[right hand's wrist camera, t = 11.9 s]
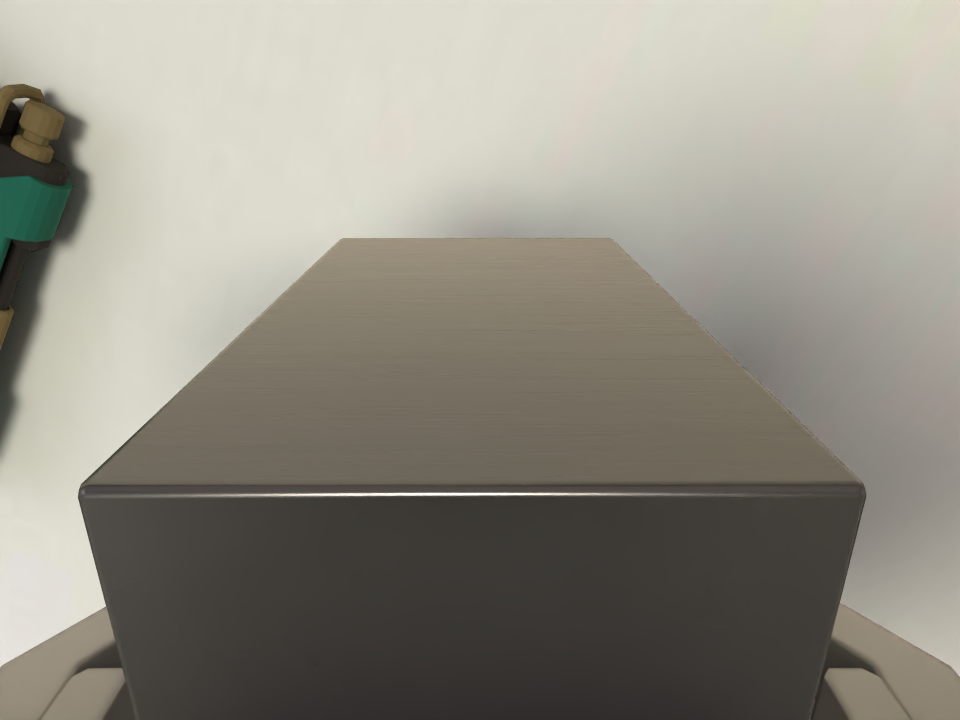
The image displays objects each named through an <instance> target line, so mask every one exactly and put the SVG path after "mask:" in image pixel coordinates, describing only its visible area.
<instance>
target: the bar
mask: <svg viewBox="0 0 960 720" xmlns="http://www.w3.org/2000/svg"><path fill="white" fill-rule="evenodd" d="M78 499H79V503H80V507H81V511H82V515H83V518H84V522H85V526H86V530H87V534H88V538H89V542H90V545H91V549H92V553H93V557H94V561H95V565H96V569H97V572H98V576H99V580H100V584H101V588H102V592H103V596H104V599H105V603H106V607H107V611H108V615H109V619H110V623H111V626H112V630H113V634H114V638H115V642H116V646H117V650H118V653H119V657H120V661H121V665H122V669H123V673H124V677H125V680H126V684H127V688H128V692H129V696H130V700H131V704H132V707H133V711H134V715H135V719H136V720H811V716H812V712H813V708H814V704H815V700H816V696H817V692H818V688H819V684H820V680H821V676H822V672H823V668H824V664H825V660H826V656H827V652H828V648H829V644H830V640H831V635H832V631H833V627H834V623H835V619H836V615H837V611H838V607H839V603H840V599H841V595H842V591H843V587H844V583H845V579H846V575H847V571H848V567H849V563H850V559H851V555H852V551H853V547H854V543H855V539H856V535H857V531H858V527H859V523H860V519H861V515H862V511H863V507H864V503H865V499H866V491H865V487H864V484H863V483H862V482H861V481H860V480H859V479H858V478H857V477H856V476H855V475H854V474H853V473H852V472H851V471H850V470H849V469H848V468H847V467H846V466H845V465H844V464H843V463H842V462H841V461H840V460H839V459H838V458H837V457H836V456H835V455H834V454H833V453H831V452H830V451H829V450H828V449H827V448H826V447H825V446H824V445H823V444H822V443H821V442H820V441H819V440H818V439H817V438H816V437H815V436H814V435H813V434H812V433H811V432H810V431H809V430H808V429H807V428H806V427H805V426H804V425H803V424H802V423H801V422H800V421H799V420H798V419H796V418H795V417H794V416H793V415H792V414H791V413H790V412H789V411H788V410H787V409H786V408H785V407H784V406H783V405H782V404H781V403H780V402H779V401H778V400H777V399H776V398H775V397H774V396H773V395H772V394H771V393H770V392H769V391H768V390H767V389H766V388H765V387H764V386H763V385H761V384H760V383H759V382H758V381H757V380H756V379H755V378H754V377H753V376H752V375H751V374H750V373H749V372H748V371H747V370H746V369H745V368H744V367H743V366H742V365H741V364H740V363H739V362H738V361H737V360H736V359H735V358H734V357H733V356H732V355H731V354H730V353H729V352H728V351H726V350H725V349H724V348H723V347H722V346H721V345H720V344H719V343H718V342H717V341H716V340H715V339H714V338H713V337H712V336H711V335H710V334H709V333H708V332H707V331H706V330H705V329H704V328H703V327H702V326H701V325H700V324H699V323H698V322H697V321H696V320H695V319H694V318H693V317H691V316H690V315H689V314H688V313H687V312H686V311H685V310H684V309H683V308H682V307H681V306H680V305H679V304H678V303H677V302H676V301H675V300H674V299H673V298H672V297H671V296H670V295H669V294H668V293H667V292H666V291H665V290H664V289H663V288H662V287H661V286H660V285H659V284H658V283H656V282H655V281H654V280H653V279H652V278H651V277H650V276H649V275H648V274H647V273H646V272H645V271H644V270H643V269H642V268H641V267H640V266H639V265H638V264H637V263H636V262H635V261H634V260H633V259H632V258H631V257H630V256H629V255H628V254H627V253H626V252H625V251H624V250H622V249H621V248H620V247H619V246H618V245H617V244H616V243H615V242H614V241H613V240H612V239H610V238H343V239H341V240H339V241H338V242H337V243H336V244H335V245H334V246H333V247H332V248H331V249H330V250H329V251H328V252H327V253H325V254H324V255H323V256H322V257H321V258H320V259H319V260H318V261H317V262H316V263H315V264H314V265H313V266H312V267H311V268H310V269H309V270H307V271H306V272H305V273H304V274H303V275H302V276H301V277H300V278H299V279H298V280H297V281H296V282H295V283H294V284H293V285H292V286H291V287H289V288H288V289H287V290H286V291H285V292H284V293H283V294H282V295H281V296H280V297H279V298H278V299H277V300H276V301H275V302H274V303H273V304H271V305H270V306H269V307H268V308H267V309H266V310H265V311H264V312H263V313H262V314H261V315H260V316H259V317H258V318H257V319H256V320H255V321H253V322H252V323H251V324H250V325H249V326H248V327H247V328H246V329H245V330H244V331H243V332H242V333H241V334H240V335H239V336H238V337H237V338H236V339H234V340H233V341H232V342H231V343H230V344H229V345H228V346H227V347H226V348H225V349H224V350H223V351H222V352H221V353H220V354H219V355H218V356H216V357H215V358H214V359H213V360H212V361H211V362H210V363H209V364H208V365H207V366H206V367H205V368H204V369H203V370H202V371H201V372H200V373H198V374H197V375H196V376H195V377H194V378H193V379H192V380H191V381H190V382H189V383H188V384H187V385H186V386H185V387H184V388H183V389H182V390H180V391H179V392H178V393H177V394H176V395H175V396H174V397H173V398H172V399H171V400H170V401H169V402H168V403H167V404H166V405H165V406H164V407H162V408H161V409H160V410H159V411H158V412H157V413H156V414H155V415H154V416H153V417H152V418H151V419H150V420H149V421H148V422H147V423H146V424H144V425H143V426H142V427H141V428H140V429H139V430H138V431H137V432H136V433H135V434H134V435H133V436H132V437H131V438H130V439H129V440H128V441H126V442H125V443H124V444H123V445H122V446H121V447H120V448H119V449H118V450H117V451H116V452H115V453H114V454H113V455H112V456H111V457H110V458H108V459H107V460H106V461H105V462H104V463H103V464H102V465H101V466H100V467H99V468H98V469H97V470H96V471H95V472H94V473H93V474H92V475H90V476H89V477H88V478H87V479H86V480H85V481H84V482H83V483H82V484H81V486H80V489H79V494H78Z"/></svg>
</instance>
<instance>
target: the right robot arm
mask: <svg viewBox="0 0 960 720" xmlns="http://www.w3.org/2000/svg"><path fill="white" fill-rule="evenodd" d="M0 720H136V719H135V715H134V711H133V707H132V704H131V700H130V696H129V692H128V688H127V684H126V680H125V677H124V673H123V669H122V665H121V661H120V657H119V653H118V650H117V646H116V642H115V638H114V634H113V630H112V626H111V623H110V619H109V615H108V611H107V607H104V608H103V609H101V610H99V611H97V612H96V613H94V614H92V615H90V616H89V617H87V618H85V619H83V620H82V621H80V622H78V623H76V624H74V625H73V626H71V627H69V628H67V629H66V630H64V631H62V632H60V633H59V634H57V635H55V636H53V637H52V638H50V639H48V640H46V641H44V642H43V643H41V644H39V645H37V646H36V647H34V648H32V649H30V650H29V651H27V652H25V653H23V654H22V655H20V656H18V657H16V658H14V659H13V660H11V661H9V662H7V663H6V664H4V665H2V666H1V668H0ZM811 720H960V677H959V676H958V674H957V673H956V672H955V671H954V670H953V669H952V667H951V666H949V665H947V664H946V663H944V662H942V661H940V660H939V659H937V658H935V657H933V656H932V655H930V654H928V653H926V652H925V651H923V650H921V649H919V648H918V647H916V646H914V645H912V644H911V643H909V642H907V641H906V640H904V639H902V638H900V637H899V636H897V635H895V634H893V633H892V632H890V631H888V630H886V629H885V628H883V627H881V626H879V625H878V624H876V623H874V622H872V621H871V620H869V619H867V618H865V617H864V616H862V615H860V614H858V613H857V612H855V611H853V610H852V609H850V608H848V607H846V606H845V605H843V604H841V603H839V607H838V611H837V615H836V619H835V623H834V627H833V631H832V635H831V640H830V644H829V648H828V652H827V656H826V660H825V664H824V668H823V672H822V676H821V680H820V684H819V688H818V692H817V696H816V700H815V704H814V708H813V712H812V716H811Z"/></svg>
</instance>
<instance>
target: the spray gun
mask: <svg viewBox="0 0 960 720" xmlns="http://www.w3.org/2000/svg"><path fill="white" fill-rule="evenodd" d="M14 98H30V100H29V101H27V102H26V103H25V106H24V109H23V112H22V115H21V112H20V111H19V110H18V108H17V107H16V105H15V104H14V103H13V102H11V101H12V100H13V99H14ZM64 121H65V118H64V115H62V114H61V113H60V112H59V111H57V110H55V109H53V108H51V107H49V106H47V105H45V104H44V99H43V94H42V92H41V90H40V89H37V88H34V87H31V86H28V85H25V84H18V85H7V86H4V87H3V88H2V89H1V90H0V350H1V347H2V344H3V341H4V339H5V336H6V333H7V330H8V328H9V325H10V322H11V319H12V317H13V314H14V309H13V308H12V307H11V306H9V304H10V302H11V299H12V296H13V293H14V290H15V288H16V285H17V282H18V279H19V277H20V274H21V271H22V268H23V266H24V263H25V260H26V257H27V255H28V252H29V250H30V251H32V252H33V251H37V250H40V249H43V248H46V247H48V246H49V243H50V241H51V239H52V238H53V237H54V235H55V233H56V230H57V227H58V224H59V222H60V219H61V216H62V214H63V211H64V208H65V206H66V203H67V200H68V198H69V195H70V192H71V189H72V187H73V186H72V185H71V183H70V181H69V180H67V178H68V175H69V171H68V169H67V168H66V167H65V165H64V164H62V163H60V162H58V161H56V160H55V159H53V158H52V157H53V154H54V151H53V149H52V147H51V146H50V145H49V144H48V143H49V141H50V140H54V139H58V138H59V135H60V132H61V129H62V127H63V124H64ZM19 124H20V125H21V126H20V129H19V132H18V134H17V135H15V133H16V131H17V128H18V126H19ZM14 135H15V136H14Z"/></svg>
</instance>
